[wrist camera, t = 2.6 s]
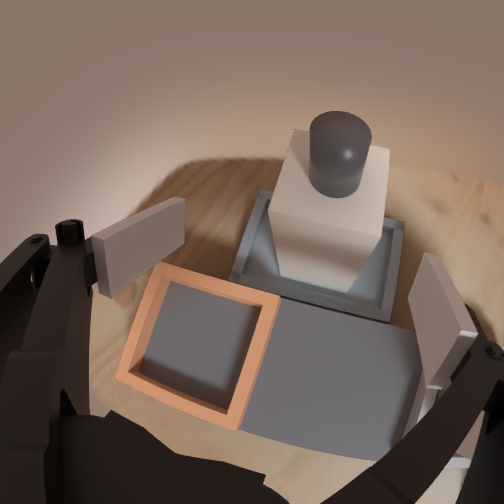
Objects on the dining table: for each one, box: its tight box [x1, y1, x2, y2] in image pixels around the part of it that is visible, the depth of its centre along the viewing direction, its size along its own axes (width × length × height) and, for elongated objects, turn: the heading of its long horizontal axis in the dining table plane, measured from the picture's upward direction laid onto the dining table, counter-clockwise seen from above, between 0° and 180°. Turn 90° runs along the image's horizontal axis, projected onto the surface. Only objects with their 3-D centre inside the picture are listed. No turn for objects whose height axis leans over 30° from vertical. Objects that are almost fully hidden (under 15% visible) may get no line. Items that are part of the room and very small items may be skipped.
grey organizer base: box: [115, 261, 504, 469], centre depth 17 cm, size 29×9×4 cm, turn 72°
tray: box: [228, 189, 404, 324], centre depth 22 cm, size 12×8×1 cm, turn 72°
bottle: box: [268, 111, 390, 293], centre depth 16 cm, size 5×5×13 cm
